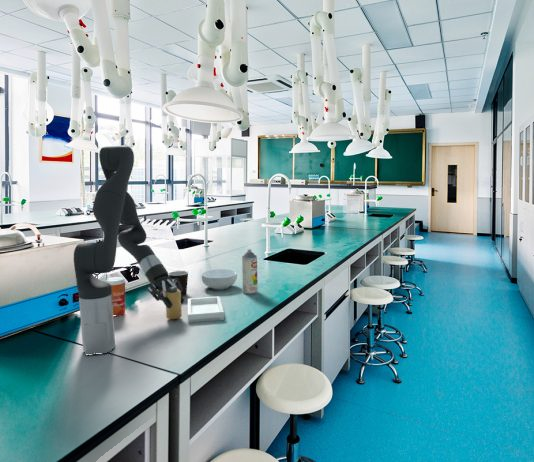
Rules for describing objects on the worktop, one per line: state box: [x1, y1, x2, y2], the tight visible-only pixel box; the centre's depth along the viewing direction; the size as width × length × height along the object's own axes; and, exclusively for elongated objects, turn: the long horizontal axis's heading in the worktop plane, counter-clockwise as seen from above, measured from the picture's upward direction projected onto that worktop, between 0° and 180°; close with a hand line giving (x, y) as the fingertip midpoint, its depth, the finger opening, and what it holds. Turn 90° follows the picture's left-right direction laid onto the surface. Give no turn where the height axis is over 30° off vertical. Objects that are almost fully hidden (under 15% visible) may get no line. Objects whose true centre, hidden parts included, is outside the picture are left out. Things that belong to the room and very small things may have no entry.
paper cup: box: [105, 276, 127, 316], centre depth 154 cm, size 8×8×14 cm
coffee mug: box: [168, 270, 189, 297], centre depth 180 cm, size 12×9×10 cm
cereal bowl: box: [201, 268, 238, 291], centre depth 191 cm, size 17×17×7 cm
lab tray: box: [187, 296, 225, 323], centre depth 156 cm, size 20×13×3 cm, turn 11°
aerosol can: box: [241, 248, 259, 296], centre depth 181 cm, size 7×7×20 cm
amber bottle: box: [165, 287, 183, 320], centre depth 148 cm, size 6×6×11 cm
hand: (176, 304), depth 147 cm, fingers closed on amber bottle, 5 cm apart
